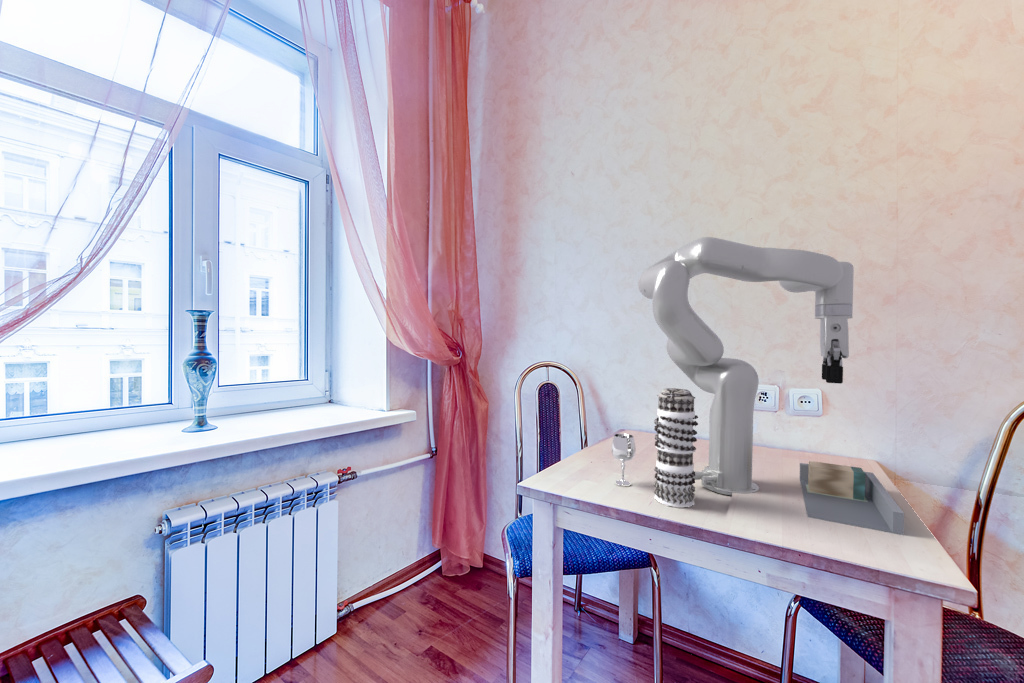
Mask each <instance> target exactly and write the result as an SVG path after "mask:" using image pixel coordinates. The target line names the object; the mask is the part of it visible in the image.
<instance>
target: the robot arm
mask: <svg viewBox="0 0 1024 683" xmlns="http://www.w3.org/2000/svg"><path fill="white" fill-rule="evenodd" d="M702 274H709V275H713V276H719V277H723V278H728V279H732V280H736V281H742V282H747V283H748V282H749V283H750V282H751V283H766V282H779V285H780V286H781V288H783V289H784V290H785V291H787V292H790V293H806V292H815V295H814V296H815V298H814V299H815V300H814V320H815V319H817V320H818V319H819V321H820V323H819V345H820V346H819V347H820V350H819V351H820V356H821V357H822V364H821V380H825V382H826V383H827V384H840V385H841V384H843V383H844V381H843V380H844V366H843V359H848V358H849V357H850V348H849V347H850V346H849V345H850V344H849V335H850V334H849V322H848V321H849V320H848V319H853V315H854V314H853V306H854V305H853V303H854V266H853V264H852V263H851V262H849V261H848V262H847V261H839V260H837V259H836V258H835V257H833V256H830V255H828V254H823V253H819V252H815V251H810V250H804V249H803V250H801V249H793V248H792V249H791V248H776V247H761V246H754V245H750V244H745V243H740V242H735V241H731V240H728V239H727V240H726V239H722V238H717V237H713V236H712V237H711V236H705V237H700V238H698V239H695V240H693V241H691V242H689V243H688V242H687V243H686V244H683V245H682V246H681V247H679V248H678V249H677V250H674V251H673V252H672V253H670V254H668V255H667V256H666V257H663V258H662V259H660V260H659V261H657V262H655V263H653V264H652V265H650V266H649V267H647V268H646V269H644V270H643V271H642V272H641V273H640V275H639V277H638V282H637V285H638V290H639V292H640V294H641V295H642V296H644V297H645V298H647V299H650V300H651V301H652V302H651V303H652V306H651V307H652V313H653V318H654V320H655V323H656V325H657V326H658V327H659V329H660V330H661V331H662V332H663V333H664V334H665V335H666V337H667V340H666V350H667V354H668V356H669V358H670V360H671V361H673V362H672V363H674V364H675V365H676V366H677V367H678V368H679V370H681V371H682V373H683V374H685V375H686V377H687V378H688V379H689V380H690V381H692V383H693V384H694V385H695V386H697V387H698V388H699V389H701V390H702V391H704V392H706V393H709V394H713V395H714V396H713V399H712V402H711V405H710V409H709V416H708V417H709V431H708V433H709V434H708V437H709V438H708V442H709V443H708V466H707V465H706V466H704V469H702V470H701V471H694V472H695V476H694V477H693V478H694V479H695V481H696V480H698V481H699V480H701V481H700V482H701V485H702V486H703V487H704V488H705V489H708V491H712V492H714V493H716V494H717V493H718V494H720V495H725V496H726V495H727V496H731V497H732V495H733V493H734V494H753V493H757V492H759V490H760V486H759V485H758V484H757V483H755V482H753V453H754V452H753V451H754V449H753V446H754V445H753V443H754V441H753V440H754V439H753V438H754V409H755V402H756V397H757V393H758V389H759V375H758V372H757V371H756V368H755V367H754V366H753V365H752V364H750V363H748V362H747V361H745V360H743V359H739V358H730V357H723V355H724V352H725V350H724V349H725V348H724V343H723V341H722V340H721V339H720V337H719V336H718V335H717V333H715V332H714V331H713V330H712V328H710V327H709V325H708V324H706V322H705V321H704V320H703V319H702V318H701V317H700V316H699V315H698V314H697V313H696V312H695V310H694V309H693V308H692V306H691V305H690V302H689V296H688V295H689V285H690V281H691V279H692V278H694V277H695V276H698V275H702Z"/></svg>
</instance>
